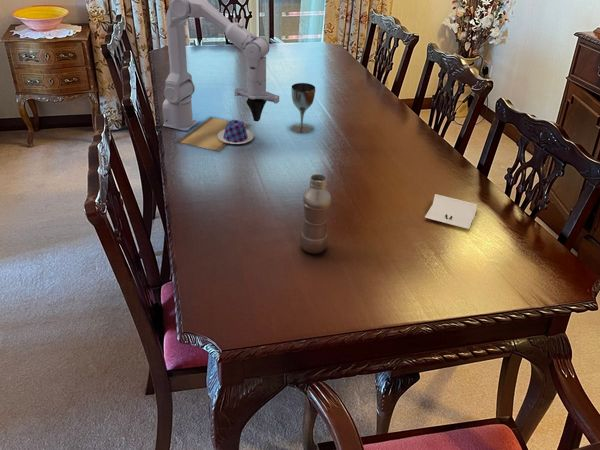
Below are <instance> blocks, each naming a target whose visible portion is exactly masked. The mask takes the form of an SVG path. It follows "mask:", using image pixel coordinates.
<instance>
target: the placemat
mask: <svg viewBox="0 0 600 450" xmlns="http://www.w3.org/2000/svg"><path fill="white" fill-rule="evenodd" d="M229 121H230V120H225V119H222V118H217V117H209V118H208V119H206V120H205V121H204V122H201V124H199V125H198V126H197V127H195V128H194V129H193V130H191V131H190V132H189V133H187V134H186V135H185V136H183V137H182V138H180V139H179V140H178V141H177V143H180V144H185V145H189V146H193V147H197V148H202V149H207V150H211V151H215V152H220V151H221V150H222V149H223V148H225V146H227V145H228V144H229V143H226V142H223V141H221V140H220V139H219V138H218V136H217V135H218V133H219V132H220V131H222V130H224V129H225V128H226V125H227V123H228V122H229ZM244 125H245V128H248V127H249V124H245V123H244Z"/></svg>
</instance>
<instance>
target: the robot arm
mask: <svg viewBox="0 0 600 450" xmlns="http://www.w3.org/2000/svg"><path fill="white" fill-rule="evenodd" d="M189 19H204V20H205V21H208V22H209V23H210V24H211V25H213V26H215V27H216V28H218V29H219V30H221V31H222V32H224V35H225V38H226V40H228V41H229V42H230V43H232V44H233V45H234V46H236V47H237V48H238V49H239V50H241V51H242V52H243V55H244V57H245V59H246V66H247V67H246V69H247V70H246V71H247V74H246V75H247V88H241V87H237V88H235V89H234V96H235V97H238V96H240V97H244V98H247V100H246V101H245V103H246V104H247V106H248V108H249V110H250V113H251V115H252V120H253V122H260V121H261V117H262V113H263V110H264V107H265V105H266V103H267V102H270V103H273V104H278V103H280V95H279V94H274V93H272V92H270V91H267V56H268V54H269V52H270V44H269V41H268V40H267V39H266V38H265V37H263V36H257V34H256V33H252V32H251V31H249V30H248V29H247V28H245V24H243V23H242V22H238V21H236V22H231V20H230V19H228V18H227V17H226V16H224V15H223V14H222V13H221V12H220V11H219V10H218V9H216V8H215V7H214V6H213V5H212V4H211V3H210V2H209V0H169V1H168V9H167V11H166V14H165V27H166V28H165V29H166V39H167V51H168V63H169V74H168V76H167V77H166V79H165V87H164V89H163V94H164V97H165V99H164V100H163V103H162V106H161V107H162V109H161V110H162V118H163V119H162V120H163V124H162V126H163V127H166V128H170V129H174V130H179V131H184V132H187V131H189V130H190V129H192V128H193V127H194V126H196V125H197V124H198V123H199V121H197V120H194V119H193V105H192V99H193V94H194V93H195V92H196V91H195V90H196V88H195V84H194V82H193V77H192V74H190V73H189V72H188V65H187V63H188V62H187V49H186V33H185V23H186V22H187V21H188V20H189Z"/></svg>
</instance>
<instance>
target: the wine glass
mask: <svg viewBox="0 0 600 450" xmlns="http://www.w3.org/2000/svg"><path fill="white" fill-rule="evenodd" d="M290 89H291V93H290V94H291V100H292V104H293V105H294V107H296V109H297V110H298V112H299V115H300V123H298V124H293V125H292V126H291V128H290V129H291V131H293V133H294V132H295V133H298V134H306V133H310V132H311V131H312V129H313V128H312V127H311V126H310V125H307V124H304V116H305V114H306V111H307V110H308V109H309V108H310V107H312V105H313V103H314V100H315V96H316V86H315V85H314V84H312V83H307V82H298V83H294V84H292V85H291V88H290Z"/></svg>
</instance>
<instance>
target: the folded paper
mask: <svg viewBox="0 0 600 450" xmlns="http://www.w3.org/2000/svg"><path fill="white" fill-rule="evenodd" d="M477 207H478V204H477V203H474V202H470V201H465V200H461V199H458V198H454V197H450V196H445V195H441V194H437V193H434V196H433V201H432V204H431V206H430V208H429V210H428V211H427V213H426V214H425V215H424V218H425V219H429V220H433V221H436V222H439V223H440V222H441V223H444V224H447V225H448V224H449V225H452V226H455V227H460V228H464V229H466V230H470V228H471V225H472V222H473V220H474V218H475V217H476V212H477Z"/></svg>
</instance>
